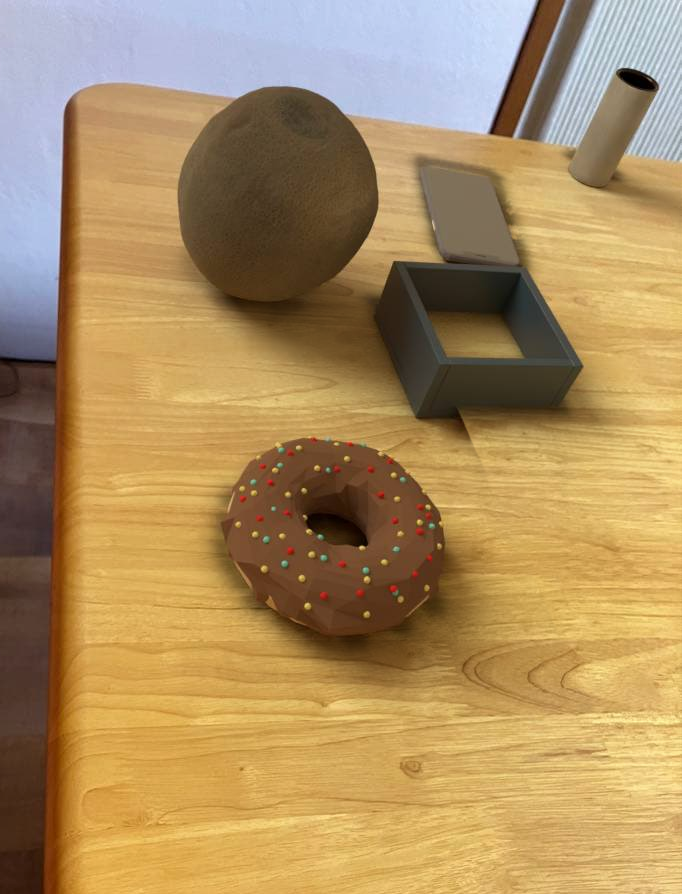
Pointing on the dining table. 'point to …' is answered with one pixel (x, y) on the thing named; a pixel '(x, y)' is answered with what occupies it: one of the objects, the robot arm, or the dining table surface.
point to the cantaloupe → (276, 194)
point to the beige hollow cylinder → (613, 126)
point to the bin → (462, 378)
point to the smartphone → (467, 218)
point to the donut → (334, 566)
